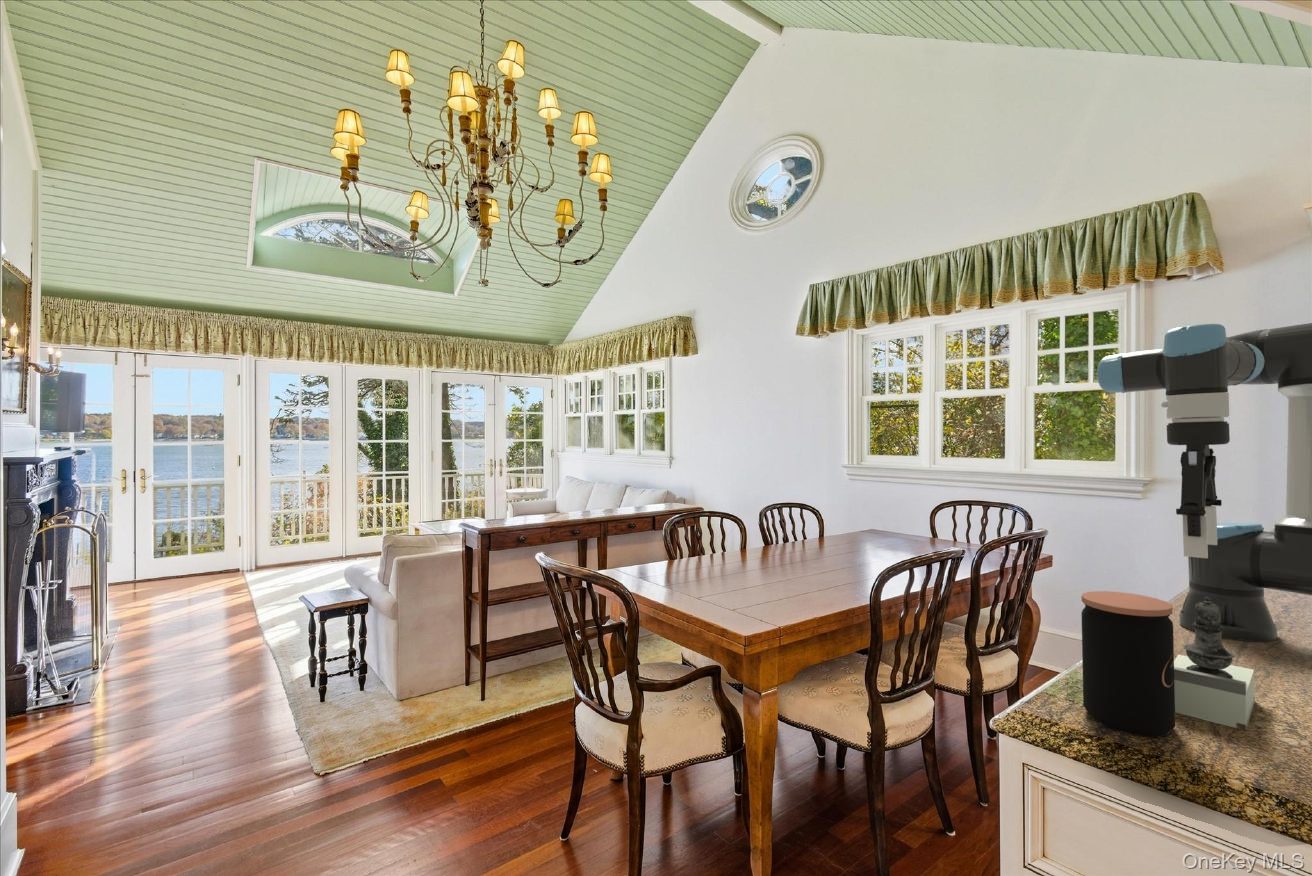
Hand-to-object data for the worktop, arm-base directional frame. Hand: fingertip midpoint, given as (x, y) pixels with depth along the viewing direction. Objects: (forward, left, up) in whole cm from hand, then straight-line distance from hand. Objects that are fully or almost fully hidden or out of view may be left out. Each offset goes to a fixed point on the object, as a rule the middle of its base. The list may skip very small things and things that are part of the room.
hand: (1201, 550), depth 95 cm
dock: (+3, +4, -23) cm, 24 cm away
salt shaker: (+3, +4, -19) cm, 19 cm away
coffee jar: (+20, +7, -24) cm, 32 cm away
